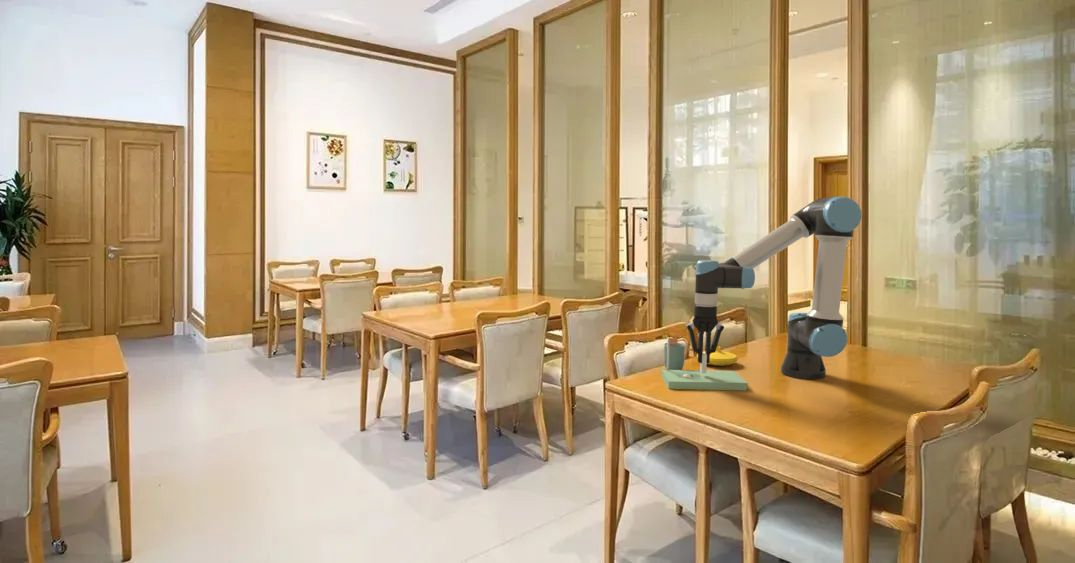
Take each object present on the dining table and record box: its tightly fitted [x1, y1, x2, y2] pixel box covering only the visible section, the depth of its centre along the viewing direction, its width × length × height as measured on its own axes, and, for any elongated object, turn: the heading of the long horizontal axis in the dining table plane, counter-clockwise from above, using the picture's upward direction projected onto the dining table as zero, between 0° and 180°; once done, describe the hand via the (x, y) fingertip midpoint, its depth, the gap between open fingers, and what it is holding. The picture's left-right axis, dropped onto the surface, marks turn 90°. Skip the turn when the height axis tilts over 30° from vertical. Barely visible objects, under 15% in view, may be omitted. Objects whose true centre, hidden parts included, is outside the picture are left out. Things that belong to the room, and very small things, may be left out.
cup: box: [663, 342, 686, 370], centre depth 227 cm, size 8×8×10 cm
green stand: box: [661, 337, 748, 391], centre depth 209 cm, size 26×16×14 cm, turn 87°
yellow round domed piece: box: [696, 345, 739, 367], centre depth 238 cm, size 16×16×7 cm
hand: (703, 372), depth 209 cm, fingers closed
